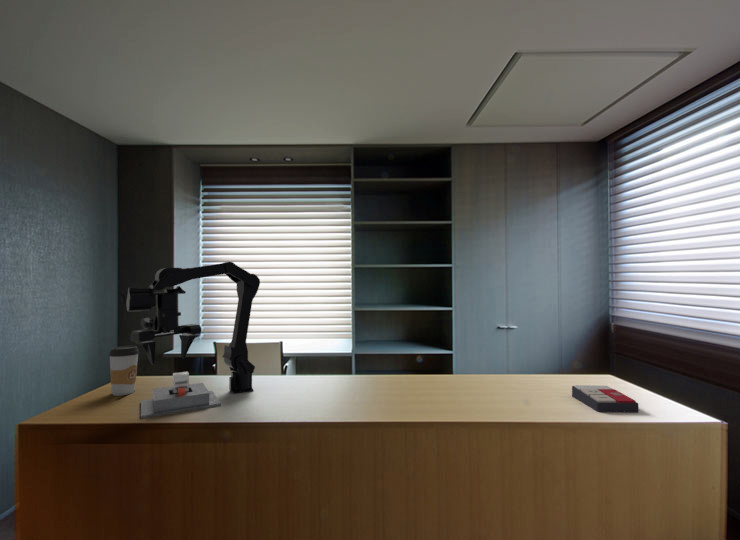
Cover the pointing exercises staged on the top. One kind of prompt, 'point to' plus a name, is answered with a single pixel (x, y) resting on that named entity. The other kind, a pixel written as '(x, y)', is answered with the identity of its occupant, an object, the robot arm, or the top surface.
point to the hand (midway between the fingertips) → (168, 361)
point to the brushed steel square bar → (180, 381)
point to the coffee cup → (123, 369)
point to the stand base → (178, 401)
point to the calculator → (604, 399)
